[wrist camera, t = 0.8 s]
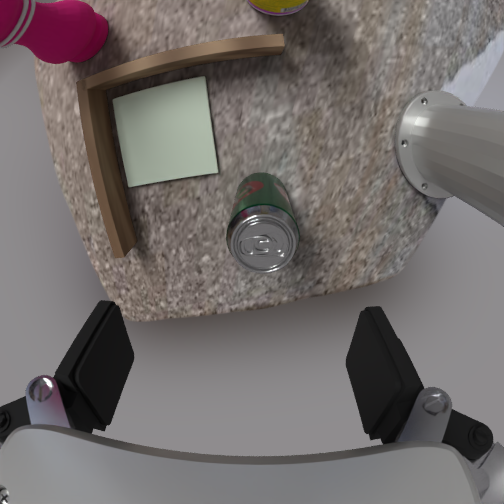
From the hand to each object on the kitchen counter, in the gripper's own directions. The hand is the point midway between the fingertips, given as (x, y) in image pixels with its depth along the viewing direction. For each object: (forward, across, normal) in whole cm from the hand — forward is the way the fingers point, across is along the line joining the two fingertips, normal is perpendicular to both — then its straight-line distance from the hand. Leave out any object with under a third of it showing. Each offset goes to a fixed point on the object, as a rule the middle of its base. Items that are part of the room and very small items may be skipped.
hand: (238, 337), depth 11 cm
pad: (+21, +9, -6) cm, 24 cm away
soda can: (+21, -1, 0) cm, 21 cm away
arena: (+21, +6, -5) cm, 22 cm away
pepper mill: (+22, +18, -19) cm, 34 cm away
